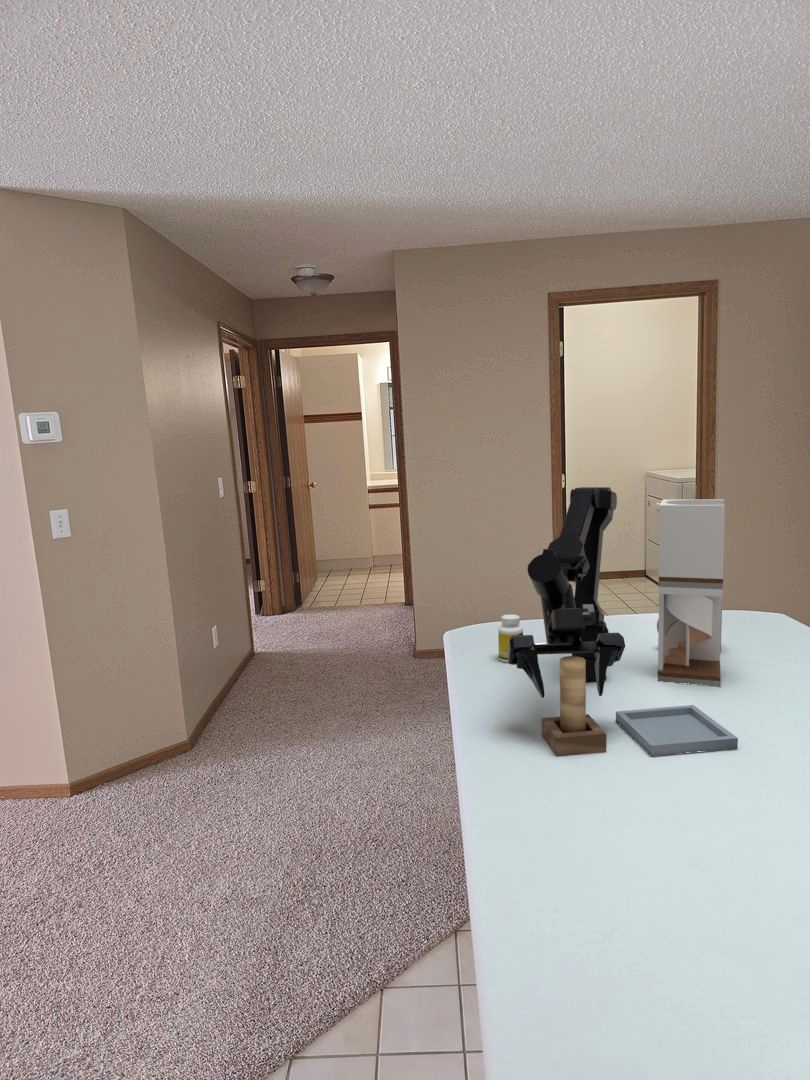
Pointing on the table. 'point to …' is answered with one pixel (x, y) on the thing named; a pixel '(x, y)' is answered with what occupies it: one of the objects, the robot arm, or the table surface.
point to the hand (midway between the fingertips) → (571, 695)
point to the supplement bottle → (507, 634)
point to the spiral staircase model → (690, 590)
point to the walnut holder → (573, 738)
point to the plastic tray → (675, 730)
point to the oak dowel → (572, 694)
